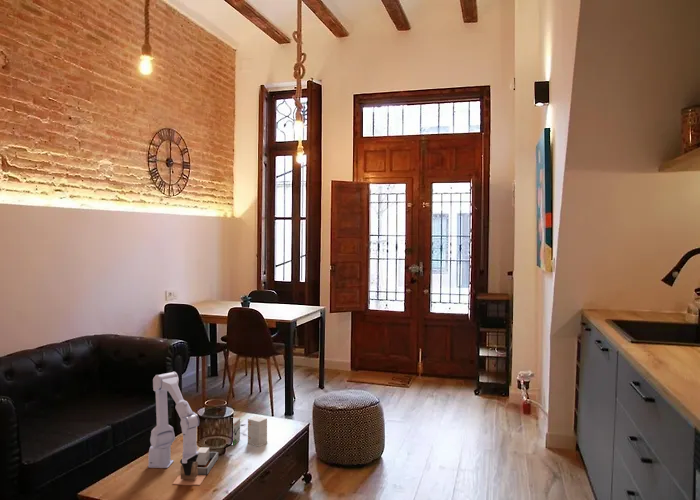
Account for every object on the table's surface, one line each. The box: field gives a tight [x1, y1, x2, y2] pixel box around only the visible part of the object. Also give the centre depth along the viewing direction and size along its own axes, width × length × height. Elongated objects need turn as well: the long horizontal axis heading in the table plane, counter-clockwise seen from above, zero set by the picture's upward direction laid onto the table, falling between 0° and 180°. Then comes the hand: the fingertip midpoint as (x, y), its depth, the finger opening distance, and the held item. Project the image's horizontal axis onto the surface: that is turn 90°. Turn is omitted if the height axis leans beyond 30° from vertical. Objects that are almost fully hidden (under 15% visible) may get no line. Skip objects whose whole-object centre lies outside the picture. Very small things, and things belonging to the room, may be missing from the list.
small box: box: [247, 415, 268, 447], centre depth 284 cm, size 8×6×13 cm
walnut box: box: [180, 462, 199, 480], centre depth 241 cm, size 4×6×6 cm
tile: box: [172, 473, 207, 486], centre depth 241 cm, size 12×9×1 cm
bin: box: [198, 451, 219, 476], centre depth 256 cm, size 12×18×3 cm
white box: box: [196, 447, 210, 466], centre depth 260 cm, size 4×6×6 cm
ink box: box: [232, 417, 241, 447], centre depth 284 cm, size 9×5×12 cm, turn 168°
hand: (189, 472), depth 241 cm, fingers closed on walnut box, 4 cm apart
